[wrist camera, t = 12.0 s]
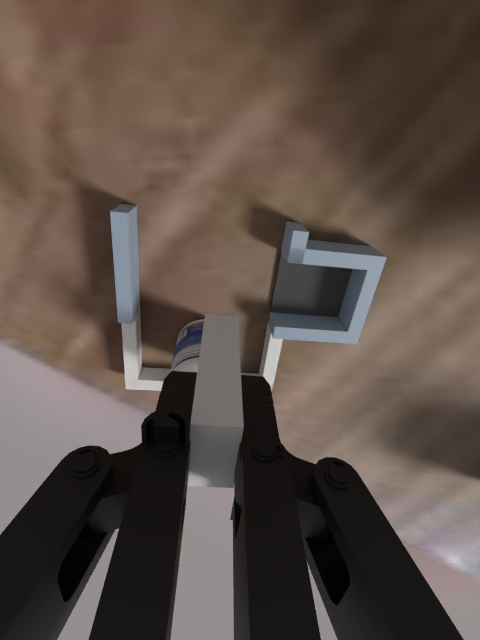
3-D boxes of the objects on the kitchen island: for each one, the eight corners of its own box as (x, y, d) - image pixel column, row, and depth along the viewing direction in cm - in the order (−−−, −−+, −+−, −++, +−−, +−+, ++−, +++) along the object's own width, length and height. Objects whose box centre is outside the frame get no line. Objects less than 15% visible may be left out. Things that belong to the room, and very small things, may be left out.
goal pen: (126, 306, 30) (121, 317, 28) (281, 318, 31) (285, 328, 30) (130, 375, 34) (125, 389, 32) (268, 383, 35) (270, 395, 34)
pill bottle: (238, 355, 33) (246, 429, 25) (188, 369, 34) (179, 447, 25) (222, 310, 31) (224, 376, 22) (168, 326, 31) (150, 396, 23)
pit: (280, 250, 28) (281, 252, 28) (354, 258, 29) (355, 259, 29) (270, 310, 31) (270, 312, 31) (337, 315, 32) (338, 317, 31)
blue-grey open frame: (121, 203, 26) (110, 211, 23) (375, 231, 28) (392, 240, 25) (126, 311, 30) (118, 327, 28) (345, 327, 32) (357, 344, 30)
